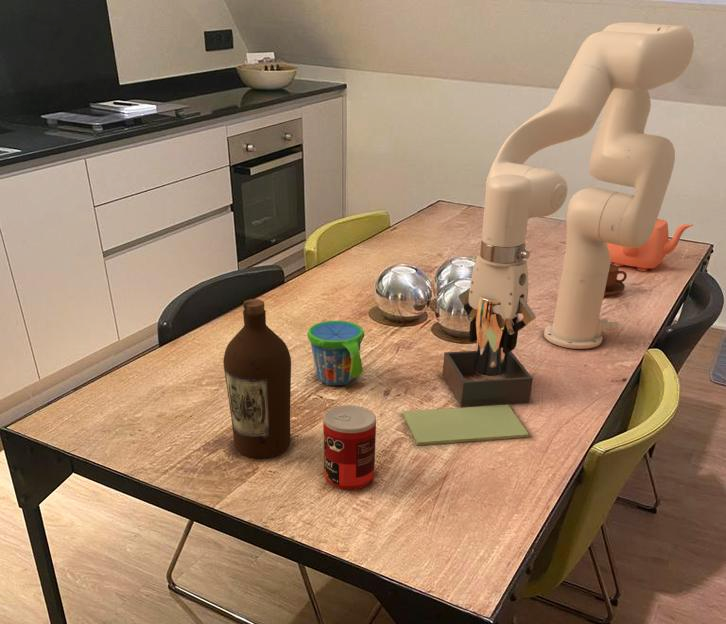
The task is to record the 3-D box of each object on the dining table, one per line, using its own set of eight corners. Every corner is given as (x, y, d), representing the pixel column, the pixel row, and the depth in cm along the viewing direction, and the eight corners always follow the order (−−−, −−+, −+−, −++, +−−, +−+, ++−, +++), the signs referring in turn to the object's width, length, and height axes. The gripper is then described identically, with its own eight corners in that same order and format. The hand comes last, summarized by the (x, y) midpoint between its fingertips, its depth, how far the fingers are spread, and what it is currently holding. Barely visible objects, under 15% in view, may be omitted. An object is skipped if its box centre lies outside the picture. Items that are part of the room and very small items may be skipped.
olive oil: (249, 423, 134) (239, 286, 120) (304, 436, 131) (300, 296, 117) (219, 453, 126) (204, 309, 112) (276, 466, 123) (268, 320, 109)
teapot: (681, 273, 208) (695, 221, 200) (620, 276, 204) (632, 224, 196) (646, 252, 222) (658, 203, 215) (589, 255, 219) (598, 206, 211)
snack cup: (296, 367, 154) (294, 319, 148) (343, 358, 158) (343, 312, 152) (327, 400, 142) (327, 350, 136) (377, 390, 146) (379, 341, 140)
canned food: (322, 464, 124) (322, 405, 118) (371, 463, 124) (373, 404, 118) (325, 491, 118) (324, 430, 111) (376, 490, 118) (378, 428, 112)
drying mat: (507, 407, 142) (508, 404, 141) (528, 437, 133) (529, 434, 132) (403, 414, 138) (403, 411, 138) (416, 445, 130) (417, 442, 129)
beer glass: (506, 379, 143) (515, 303, 134) (469, 376, 144) (476, 300, 135) (508, 363, 148) (517, 289, 140) (472, 360, 150) (479, 286, 141)
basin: (506, 371, 154) (509, 348, 151) (529, 402, 143) (533, 378, 141) (442, 375, 152) (444, 352, 149) (460, 407, 141) (463, 382, 138)
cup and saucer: (605, 281, 201) (610, 257, 198) (632, 296, 192) (638, 272, 188) (566, 285, 198) (570, 261, 194) (591, 301, 188) (596, 276, 185)
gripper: (556, 257, 130) (542, 352, 141) (473, 235, 140) (465, 326, 150) (533, 268, 126) (520, 366, 136) (449, 245, 135) (442, 338, 146)
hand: (491, 344), depth 143 cm, fingers closed on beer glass, 6 cm apart
